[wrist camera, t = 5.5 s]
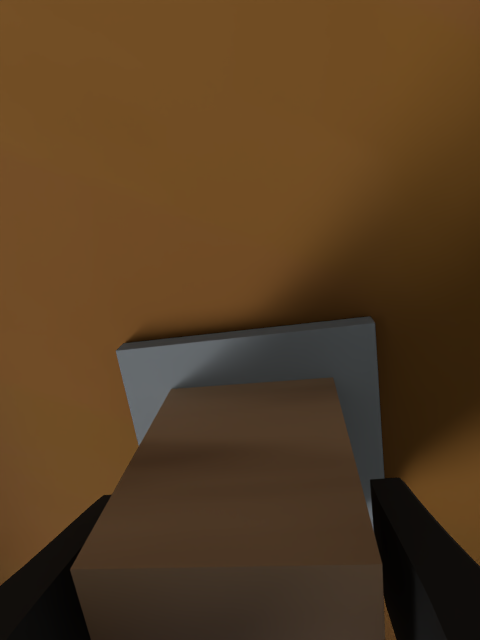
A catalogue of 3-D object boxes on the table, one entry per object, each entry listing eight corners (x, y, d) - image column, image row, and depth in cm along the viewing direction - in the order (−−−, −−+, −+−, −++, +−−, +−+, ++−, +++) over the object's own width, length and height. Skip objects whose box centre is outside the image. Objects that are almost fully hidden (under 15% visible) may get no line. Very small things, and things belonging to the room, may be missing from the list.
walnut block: (342, 515, 13) (390, 780, 7) (195, 519, 13) (129, 769, 8) (333, 377, 11) (382, 564, 6) (171, 388, 12) (70, 569, 6)
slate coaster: (383, 528, 13) (388, 543, 13) (169, 538, 14) (164, 552, 14) (370, 316, 12) (374, 323, 11) (123, 343, 12) (115, 350, 12)
